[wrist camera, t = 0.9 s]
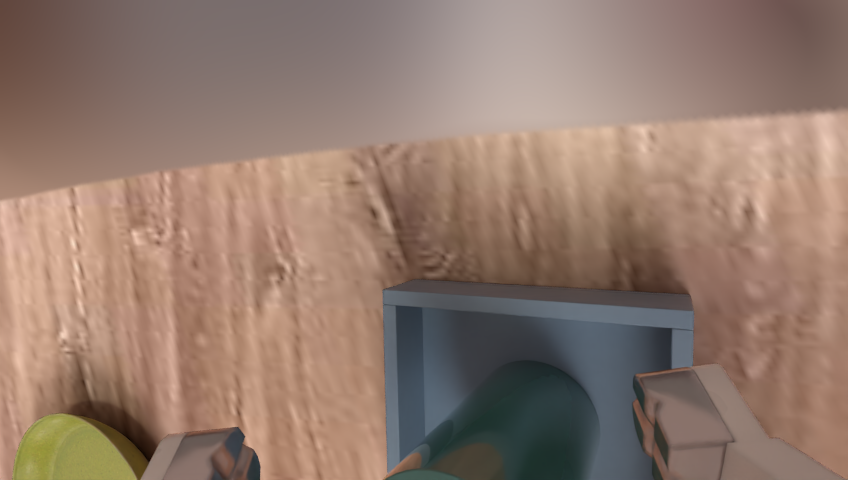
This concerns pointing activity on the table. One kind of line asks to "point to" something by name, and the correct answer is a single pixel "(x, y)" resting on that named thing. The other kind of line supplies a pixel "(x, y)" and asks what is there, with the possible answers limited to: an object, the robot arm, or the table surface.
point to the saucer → (76, 451)
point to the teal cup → (512, 431)
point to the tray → (528, 353)
